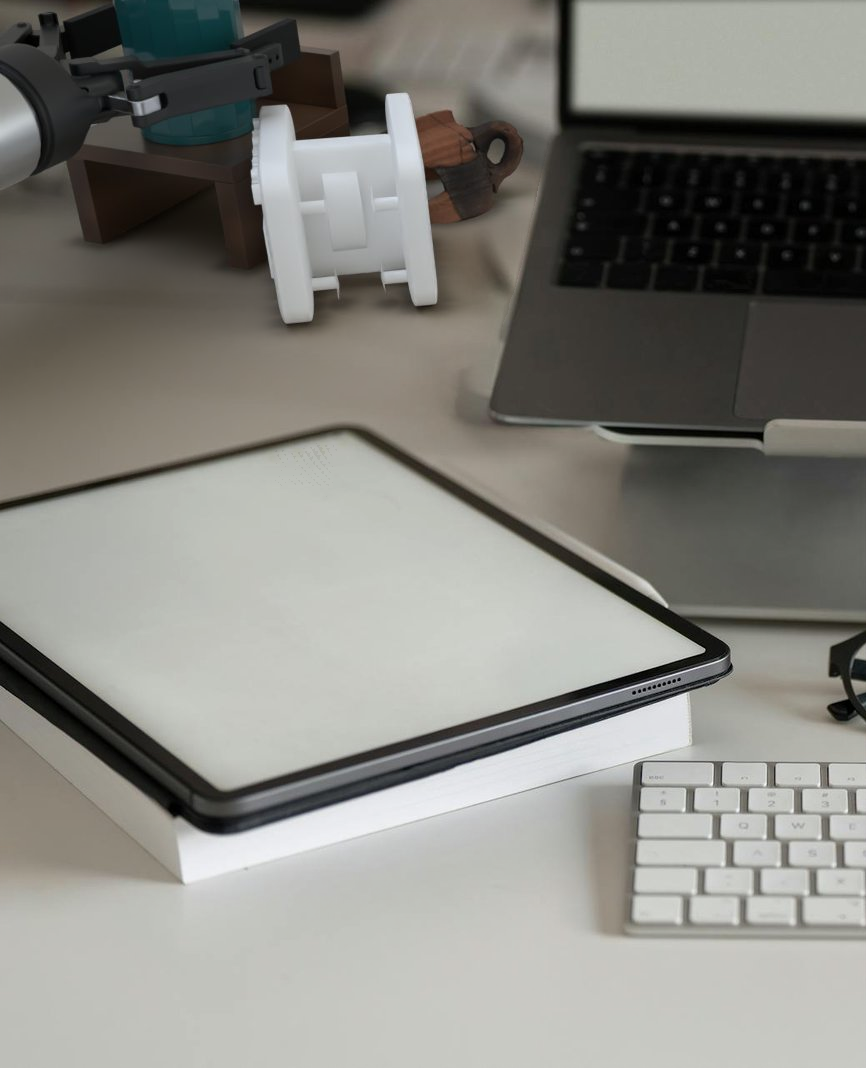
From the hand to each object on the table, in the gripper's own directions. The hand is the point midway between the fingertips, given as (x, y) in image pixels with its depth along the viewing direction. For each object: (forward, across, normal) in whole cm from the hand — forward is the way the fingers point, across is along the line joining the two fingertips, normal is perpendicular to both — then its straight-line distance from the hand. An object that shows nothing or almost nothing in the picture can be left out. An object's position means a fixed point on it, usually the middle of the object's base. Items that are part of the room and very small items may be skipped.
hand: (213, 27), depth 120 cm
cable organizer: (-8, +15, -14) cm, 22 cm away
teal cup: (-3, 0, -6) cm, 7 cm away
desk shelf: (-2, 0, -14) cm, 14 cm away
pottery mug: (+8, +13, -14) cm, 21 cm away
